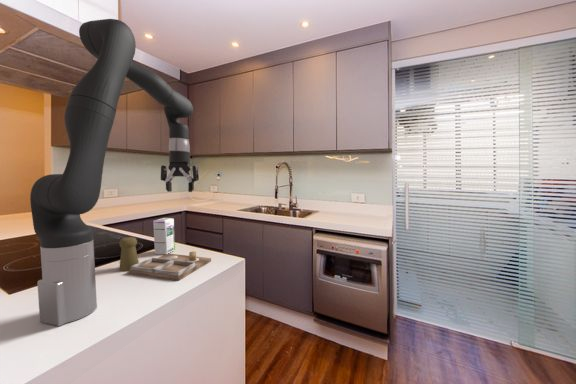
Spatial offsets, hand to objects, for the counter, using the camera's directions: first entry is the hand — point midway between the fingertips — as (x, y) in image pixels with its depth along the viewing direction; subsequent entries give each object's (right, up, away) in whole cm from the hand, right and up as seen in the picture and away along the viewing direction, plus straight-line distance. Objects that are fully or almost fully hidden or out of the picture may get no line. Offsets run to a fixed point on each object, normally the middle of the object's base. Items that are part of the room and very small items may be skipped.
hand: (180, 191), depth 96 cm
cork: (-13, -27, -10) cm, 32 cm away
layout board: (+1, -27, -9) cm, 29 cm away
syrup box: (-10, -26, +7) cm, 29 cm away
